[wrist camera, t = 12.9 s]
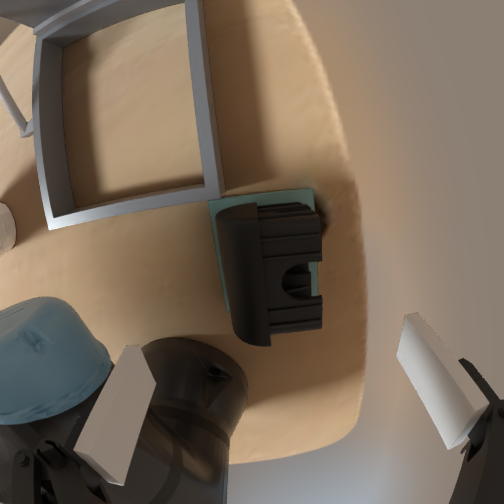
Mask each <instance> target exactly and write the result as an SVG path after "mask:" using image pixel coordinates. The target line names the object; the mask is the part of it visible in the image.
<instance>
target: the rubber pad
mask: <svg viewBox="0 0 504 504" xmlns="http://www.w3.org/2000/svg"><path fill="white" fill-rule="evenodd" d="M252 202H257V206H260V205H270V204H280V203H291V202H301V203H302V204H307V205H309V206H310V207H311V210H313V211H315V207H314V193H313V189H312V188H305V189H294V190H283V191H274V192H264V193H255V194H247V195H238V196H230V197H223V198H221V199H214V200H209V201H208V205H209V211H210V218H211V224H212V230H213V236H214V242H215V248H216V254H217V260H218V266H219V271H220V277H221V282H222V288H223V293H224V299H225V304H226V309H227V312H230V308H229V302H228V297H227V291H226V285H225V279H224V273H223V267H222V261H221V255H220V249H219V242H218V236H217V229H216V223H215V216H216V214H217V213H218V212H219V211H221V210H223V209H225V208H228V207H232V206H236V205H240V204H245V203H252ZM309 271H310V272H311V288H312V296H318V271H317V262H310V263H309Z"/></svg>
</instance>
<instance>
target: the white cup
mask: <svg viewBox="0 0 504 504" xmlns="http://www.w3.org/2000/svg"><path fill="white" fill-rule="evenodd" d="M15 239H16V228H15V221H14V218H13V216H12V213H11V211H10V210H9V208H8V207H7V206H6V205H5V204H3V203H0V256H2V255H4V254H5V253H7V252H8V251H10V250H11V249H12V247H13V246H14V244H15Z"/></svg>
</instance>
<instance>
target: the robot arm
mask: <svg viewBox="0 0 504 504" xmlns="http://www.w3.org/2000/svg"><path fill="white" fill-rule="evenodd" d="M396 357H397V359H398V361H399V362H400V364H401V366H402V367H403V369H404V370H405V372H406V374H407V376H408V377H409V379H410V381H411V382H412V384H413V386H414V388H415V389H416V391H417V393H418V395H419V396H420V398H421V400H422V402H423V403H424V405H425V407H426V409H427V411H428V412H429V414H430V416H431V418H432V420H433V422H434V423H435V425H436V427H437V429H438V431H439V433H440V435H441V437H442V439H443V441H444V443H445V445H446V447H447V449H448V450H449V449H451V448H453V447H455V446H457V445H458V444H460V443H462V442H463V440H464V439H465V438H466V437H467V435H468V437H469V439H470V440H469V442H468V443H467V444H466V445H465V446H464V448H463V449H462V451H461V454H462V453H463V452H464V451H465V450H466V453H465V456H464V460H463V463H462V467H461V470H460V473H459V477H458V480H457V483H456V486H455V489H454V492H453V494H452V497H451V499H450V502H449V504H504V400H500V399H499V398H498V396H497V395H496V394H495V392H494V391H493V390H492V389H491V387H490V386H489V384H488V383H487V382H486V381H485V379H484V378H482V375H480V373H479V372H478V371H477V369H476V368H475V367H474V365H473V364H472V363H470V362H469V361H467V360H466V359H464V358H462V359H460V360H457V359H456V358H455V357H454V355H453V354H452V353H451V351H450V350H449V349H448V348H447V346H446V345H445V344H444V343H443V342H442V340H441V339H440V338H439V337H438V336H437V335H436V333H435V332H434V331H433V330H432V329H431V328H430V326H429V325H428V324H427V323H426V322H425V321H424V320H423V318H422V317H421V316H420V315H419V314H418V313H413V314H408V315H405V317H404V323H403V328H402V333H401V337H400V342H399V347H398V351H397V355H396ZM247 391H248V385H247V380H246V377H245V375H244V373H243V371H242V369H241V368H240V367H239V366H238V364H237V363H236V362H235V361H234V360H232V359H231V358H230V357H229V356H227V355H226V354H224V353H223V352H221V351H219V350H218V349H216V348H214V347H211V346H209V345H206V344H203V343H200V342H197V341H192V340H187V339H162V340H157V341H154V342H151V343H149V344H147V345H145V346H144V347H142V348H140V346H139V345H126V347H125V349H124V350H123V352H122V354H121V356H120V358H119V359H118V361H117V363H116V365H114V363H113V362H112V361H111V359H110V355H109V353H108V351H107V349H106V347H105V346H104V345H103V344H102V343H101V342H100V341H98V340H97V339H95V337H94V336H93V335H92V333H91V332H90V330H89V329H88V328H87V326H86V325H85V323H84V322H83V321H82V319H81V318H80V316H79V315H78V313H77V312H76V311H75V310H74V308H73V307H72V306H71V305H69V304H68V303H67V302H65V301H63V300H61V299H59V298H55V297H38V298H33V299H29V300H26V301H23V302H20V303H18V304H15V305H13V306H10V307H8V308H6V309H4V310H2V311H0V504H226V503H227V484H228V464H229V446H230V438H231V436H232V434H233V432H234V430H235V428H236V426H237V424H238V422H239V420H240V418H241V416H242V414H243V412H244V409H245V407H246V403H247Z"/></svg>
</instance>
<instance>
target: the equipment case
mask: <svg viewBox="0 0 504 504" xmlns="http://www.w3.org/2000/svg"><path fill="white" fill-rule="evenodd" d="M183 2H185V11H186V24H187V37H188V48H189V59H190V69H191V79H192V88H193V97H194V106H195V114H196V123H197V131H198V138H199V146H200V153H201V161H202V168H203V175H204V182H205V183H202V184H196V185H189V186H183V187H177V188H172V189H166V190H160V191H155V192H150V193H145V194H140V195H135V196H130V197H125V198H120V199H116V200H111V201H107V202H102V203H98V204H94V205H90V206H86V207H82V208H78V209H75V204H74V199H73V194H72V189H71V183H70V177H69V171H68V164H67V156H66V148H65V139H64V127H63V112H62V56H63V48H64V47H66V46H68V45H69V44H71V43H73V42H75V41H77V40H79V39H81V38H83V37H85V36H87V35H90V34H92V33H94V32H96V31H98V30H101V29H103V28H105V27H108V26H110V25H113V24H115V23H118V22H120V21H123V20H126V19H129V18H131V17H134V16H137V15H140V14H143V13H146V12H150V11H153V10H156V9H160V8H163V7H167V6H171V5H175V4H179V3H183ZM0 16H1V17H4V18H7V19H10V20H13V21H16V22H18V23H21V24H24V25H26V26H29V27H31V28H34V30H33V34H34V35H36V36H37V37H36V45H35V54H34V66H33V85H32V115H33V119H32V120H31V121H29V122H26V120H25V118H24V117H23V115H22V113H21V112H20V110H19V108H18V107H17V105H16V103H15V101H14V100H13V98H12V96H11V94H10V93H9V91H8V89H7V87H6V85H5V83H4V81H3V80H2V78H1V76H0V98H1V100H2V101H3V103H4V105H5V107H6V108H7V110H8V112H9V113H10V115H11V116H12V118H13V120H14V121H15V123H16V124H17V126H18V128H19V129H20V131H21V138H23V137H30V136H32V135H34V147H35V156H36V165H37V172H38V179H39V185H40V191H41V196H42V201H43V206H44V211H45V216H46V220H47V224H48V228H49V230H53V229H57V228H61V227H65V226H70V225H74V224H79V223H83V222H88V221H93V220H97V219H102V218H107V217H112V216H117V215H122V214H128V213H133V212H139V211H144V210H150V209H156V208H162V207H168V206H174V205H180V204H187V203H193V202H200V201H207V200H214V199H221V197H222V196H223V194H224V193H225V192H226V191H225V184H224V176H223V169H222V162H221V154H220V146H219V139H218V131H217V123H216V115H215V107H214V98H213V90H212V82H211V73H210V64H209V55H208V46H207V37H206V27H205V18H204V8H203V0H0Z"/></svg>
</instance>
